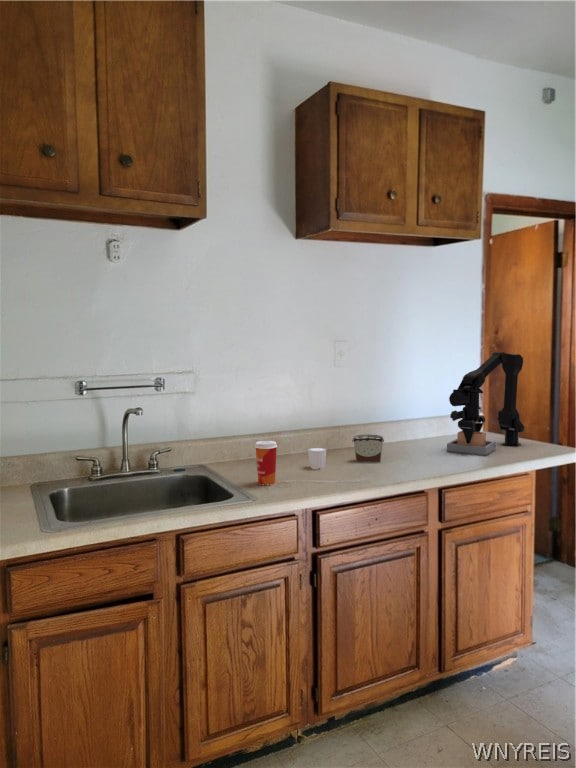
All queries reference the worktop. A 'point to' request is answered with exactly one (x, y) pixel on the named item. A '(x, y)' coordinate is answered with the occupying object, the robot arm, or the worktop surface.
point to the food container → (368, 448)
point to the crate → (471, 448)
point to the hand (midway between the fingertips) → (471, 441)
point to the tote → (476, 440)
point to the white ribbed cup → (317, 457)
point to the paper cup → (266, 461)
